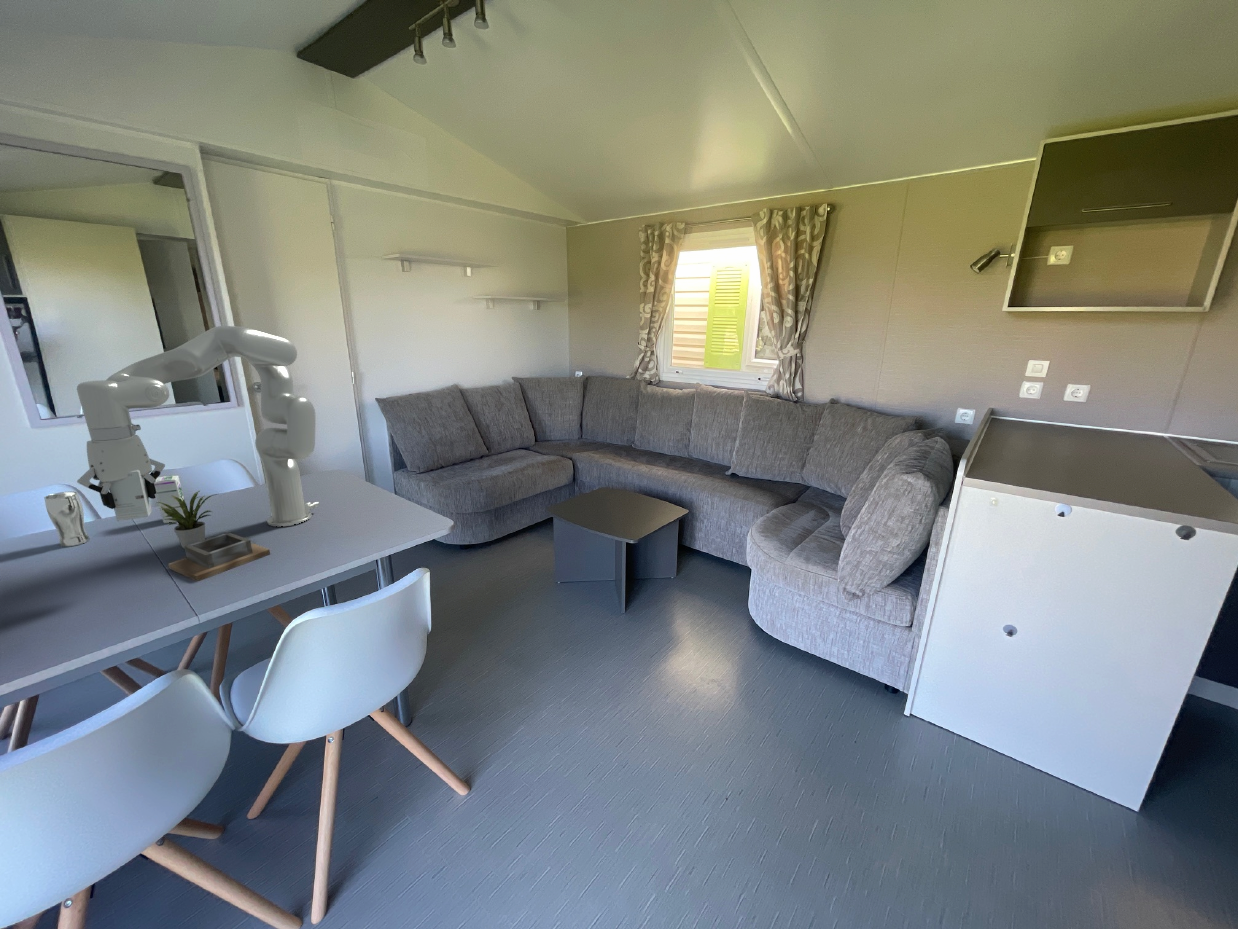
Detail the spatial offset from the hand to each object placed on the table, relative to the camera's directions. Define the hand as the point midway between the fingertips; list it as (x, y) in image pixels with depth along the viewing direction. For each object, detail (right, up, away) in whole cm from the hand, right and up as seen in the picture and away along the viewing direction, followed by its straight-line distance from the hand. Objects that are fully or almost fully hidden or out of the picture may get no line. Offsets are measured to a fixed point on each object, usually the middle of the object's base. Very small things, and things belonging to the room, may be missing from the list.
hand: (131, 502), depth 124 cm
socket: (+10, -18, +16) cm, 26 cm away
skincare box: (0, -4, +1) cm, 4 cm away
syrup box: (-26, -9, +42) cm, 51 cm away
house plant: (-5, -15, +26) cm, 30 cm away
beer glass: (-40, -14, +24) cm, 49 cm away
